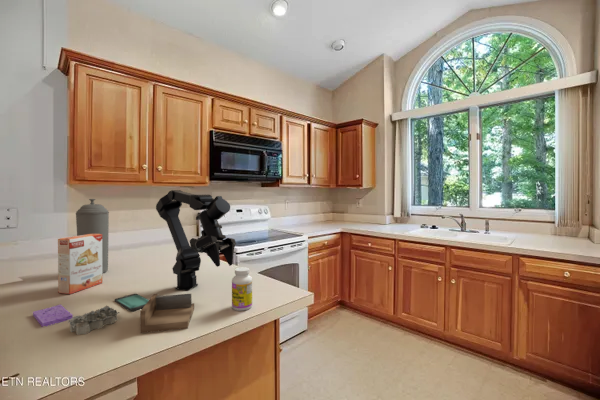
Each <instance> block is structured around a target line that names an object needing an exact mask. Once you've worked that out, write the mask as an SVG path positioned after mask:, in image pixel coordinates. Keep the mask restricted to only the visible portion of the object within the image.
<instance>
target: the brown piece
mask: <svg viewBox="0 0 600 400" xmlns="http://www.w3.org/2000/svg"><path fill="white" fill-rule="evenodd" d="M157 296H159V293H154V294H153V295H152V296H151V297H150V298H149V299H148V300H149V301H148V302H147V303H146V305H145V306H144V307H143V309H141V310H139V311H140V314H139V315H140V317H139V320H140V321H139V322H140V327H139V330H140V334H147V333H157V332H165V331H167V332H168V331H175V330H186V329H189V326H190V323H191V320H192V317H193V314H194V311H195V303H193V302H192V306H191V308H180V309H168V310H157V311H156V297H157Z"/></svg>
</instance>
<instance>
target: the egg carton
mask: <svg viewBox="0 0 600 400" xmlns="http://www.w3.org/2000/svg"><path fill="white" fill-rule="evenodd" d="M118 314H120V312H119V311H117V309H114V308H113V307H110V306H109V305H105V306H104V307H101V308H99V309H96V310H91V311H89V312H87V313H84V314H82V315H75V316H73V318H71V319H69V320H67V323H69V331H70V333H73V332H75V333H76V334H75V335H77V336H79V335H87V334H89V333H90V332H91V331H92V330H95V329H98V330H100V329H102V328H104V326H105V325H113V324H114V323H116V321H118ZM99 328H100V329H99Z"/></svg>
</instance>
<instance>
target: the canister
mask: <svg viewBox="0 0 600 400" xmlns="http://www.w3.org/2000/svg"><path fill="white" fill-rule="evenodd" d="M88 200H89V201H90V203H89V204H84V205H82V206H80V208H78V210H77V211H76V212H75V223H76V224H75V225H76V236H80V235H87V234H102V274H104V273H106V272H108V270H109V230H110V229H109V225H110V223H109V217H110V216H109V213H110V212H109V210H108V209H107V208H106V207H105V206H104V205H102V204H98V203H97V204H95V201H96V199H95V198H89V199H88Z"/></svg>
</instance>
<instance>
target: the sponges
mask: <svg viewBox="0 0 600 400" xmlns="http://www.w3.org/2000/svg"><path fill="white" fill-rule="evenodd" d="M32 317H34V319H35V320H36V321H37V323H38V324H39V325H40V326H41V327H42V328H44V327H43V326H46V327H49V326H51V324H52V325H55V323H56V324H59V323H62V322H66V321H69V320H70V319H71V318H73V317H74V315H73V313H71V312H70V311H68V310H67V309H66V308H65V307H64V306H63V305H62V304H61V303H60V304H57V305H52V306H51V307H46V308H43V309H39V310H34V311H32ZM48 325H49V326H48Z"/></svg>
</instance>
